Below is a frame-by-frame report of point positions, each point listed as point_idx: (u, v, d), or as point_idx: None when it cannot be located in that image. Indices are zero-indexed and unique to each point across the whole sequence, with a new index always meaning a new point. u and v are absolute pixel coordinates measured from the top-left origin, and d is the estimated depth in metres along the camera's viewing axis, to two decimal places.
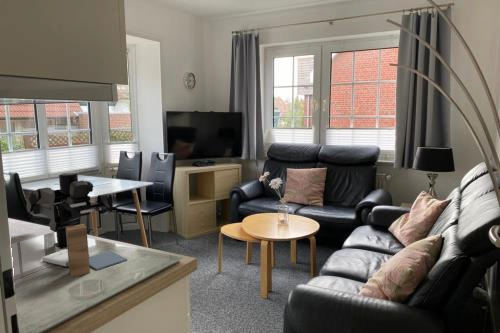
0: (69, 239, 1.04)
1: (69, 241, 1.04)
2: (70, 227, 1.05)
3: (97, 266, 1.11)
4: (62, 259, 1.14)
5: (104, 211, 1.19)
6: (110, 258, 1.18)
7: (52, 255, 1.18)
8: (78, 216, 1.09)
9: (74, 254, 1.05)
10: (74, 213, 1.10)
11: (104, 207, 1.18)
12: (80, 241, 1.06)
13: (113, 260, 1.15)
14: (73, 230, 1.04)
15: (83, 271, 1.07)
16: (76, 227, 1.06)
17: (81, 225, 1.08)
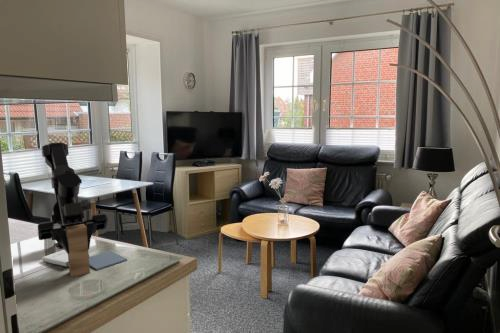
0: (69, 239, 1.04)
1: (69, 241, 1.04)
2: (70, 227, 1.05)
3: (97, 266, 1.11)
4: (62, 259, 1.14)
5: None
6: (110, 258, 1.18)
7: (52, 255, 1.18)
8: None
9: (74, 254, 1.05)
10: (64, 246, 1.05)
11: None
12: (80, 240, 1.06)
13: (113, 260, 1.15)
14: (73, 230, 1.04)
15: (83, 271, 1.07)
16: (76, 227, 1.06)
17: (81, 225, 1.08)
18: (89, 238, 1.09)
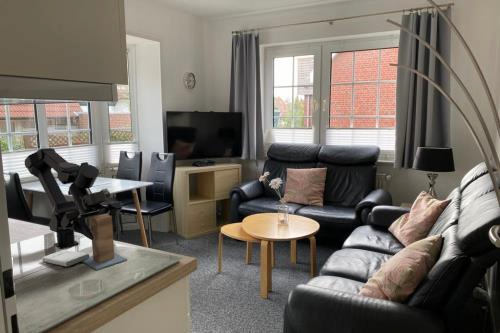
0: (98, 228, 1.12)
1: (98, 230, 1.12)
2: (96, 217, 1.14)
3: (97, 266, 1.11)
4: (62, 259, 1.14)
5: None
6: None
7: (52, 255, 1.18)
8: (90, 238, 1.12)
9: (102, 242, 1.14)
10: (87, 233, 1.12)
11: None
12: (107, 229, 1.15)
13: (113, 260, 1.15)
14: (101, 219, 1.13)
15: (109, 257, 1.16)
16: (102, 217, 1.15)
17: (104, 215, 1.16)
18: (115, 223, 1.19)
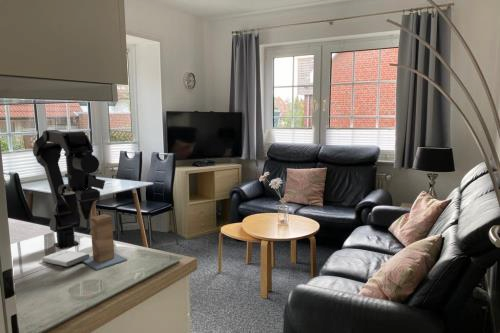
0: (98, 228, 1.12)
1: (98, 230, 1.12)
2: (96, 217, 1.14)
3: (97, 266, 1.11)
4: (63, 259, 1.14)
5: (69, 203, 1.22)
6: None
7: (52, 255, 1.18)
8: (86, 218, 1.17)
9: (102, 242, 1.14)
10: (88, 213, 1.17)
11: (73, 204, 1.23)
12: (107, 229, 1.15)
13: (113, 260, 1.15)
14: (101, 219, 1.13)
15: (109, 257, 1.16)
16: (102, 217, 1.15)
17: (104, 215, 1.16)
18: None
